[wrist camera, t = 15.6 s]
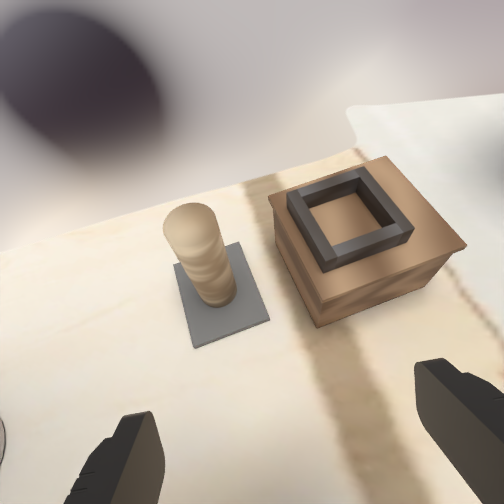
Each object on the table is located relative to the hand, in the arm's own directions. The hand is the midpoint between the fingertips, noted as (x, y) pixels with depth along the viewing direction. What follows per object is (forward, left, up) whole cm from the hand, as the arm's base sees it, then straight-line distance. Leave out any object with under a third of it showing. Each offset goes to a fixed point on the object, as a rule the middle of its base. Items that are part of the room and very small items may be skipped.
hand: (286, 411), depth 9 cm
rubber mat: (-2, +15, -20) cm, 25 cm away
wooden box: (+12, +13, -20) cm, 26 cm away
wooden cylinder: (-2, +15, -19) cm, 24 cm away
